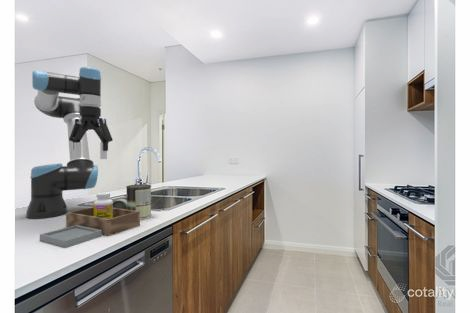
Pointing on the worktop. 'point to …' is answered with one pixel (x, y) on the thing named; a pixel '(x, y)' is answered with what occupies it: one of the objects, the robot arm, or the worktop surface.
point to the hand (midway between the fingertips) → (90, 158)
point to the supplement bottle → (103, 206)
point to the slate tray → (70, 235)
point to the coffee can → (139, 199)
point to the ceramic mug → (120, 204)
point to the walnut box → (104, 220)
